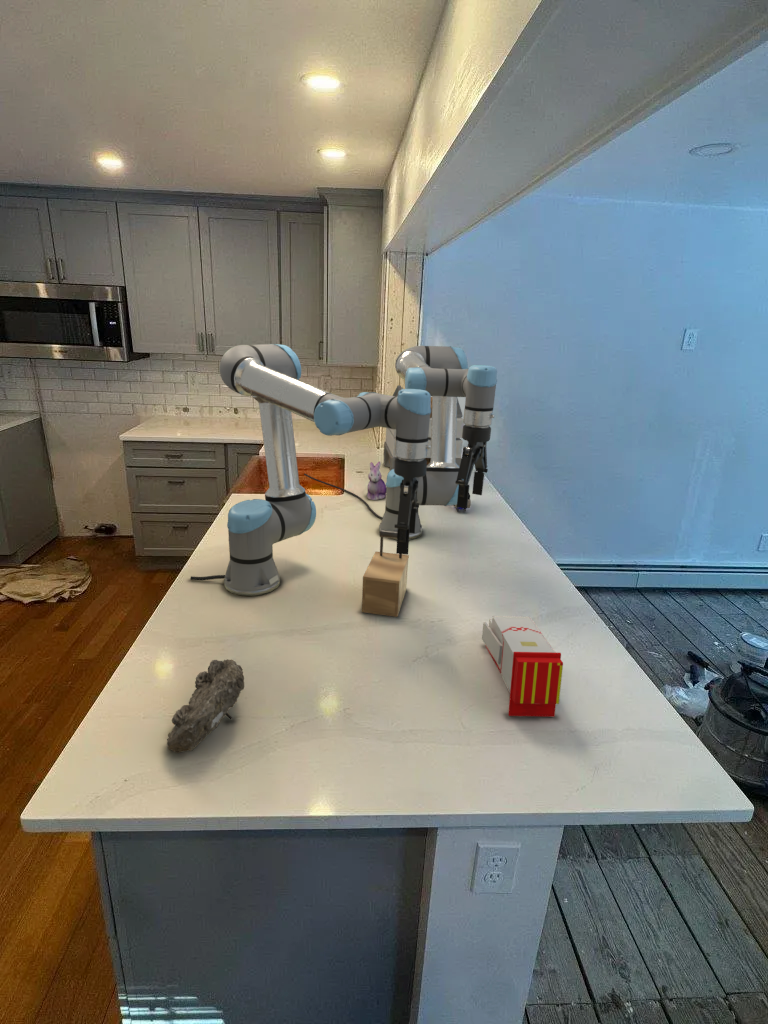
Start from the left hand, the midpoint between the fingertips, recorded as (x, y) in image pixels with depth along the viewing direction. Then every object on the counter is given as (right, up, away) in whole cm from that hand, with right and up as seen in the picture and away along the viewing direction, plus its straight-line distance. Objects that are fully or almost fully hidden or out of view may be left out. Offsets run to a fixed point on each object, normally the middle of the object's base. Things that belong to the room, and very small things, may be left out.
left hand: (405, 542), depth 138 cm
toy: (+23, -28, -14) cm, 39 cm away
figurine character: (+25, +9, +91) cm, 95 cm away
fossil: (-38, -32, -30) cm, 58 cm away
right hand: (+19, +11, +20) cm, 29 cm away
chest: (-5, -17, +16) cm, 23 cm away
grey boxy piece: (+12, +26, +137) cm, 140 cm away
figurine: (-9, +14, +99) cm, 100 cm away
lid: (-5, -8, +13) cm, 16 cm away
